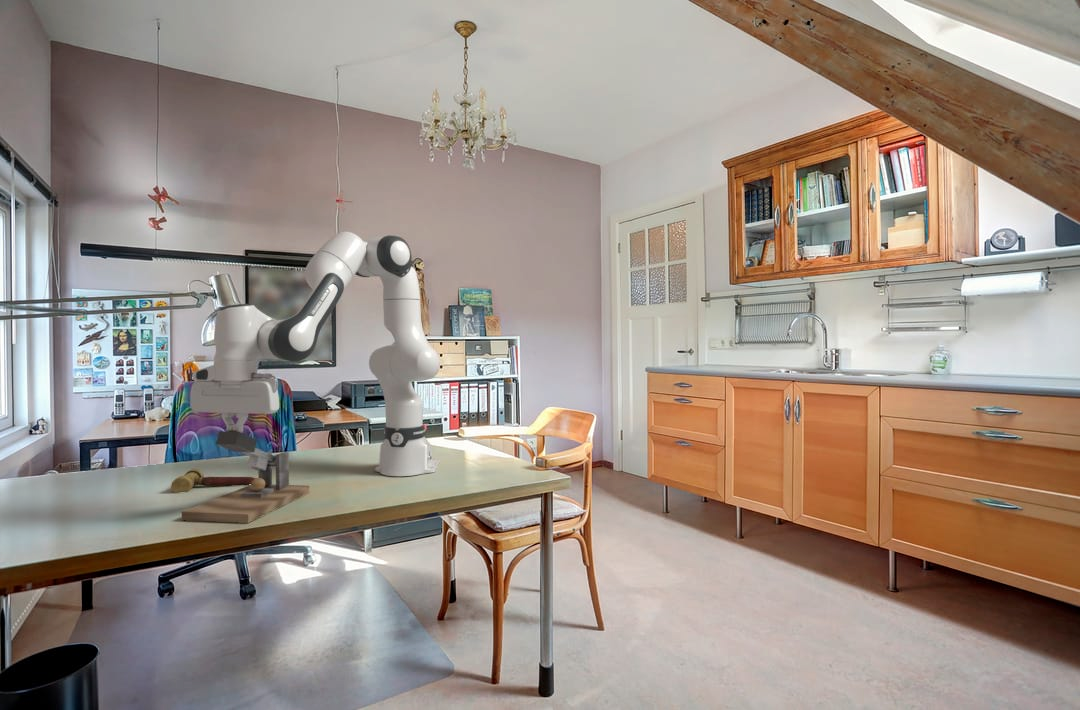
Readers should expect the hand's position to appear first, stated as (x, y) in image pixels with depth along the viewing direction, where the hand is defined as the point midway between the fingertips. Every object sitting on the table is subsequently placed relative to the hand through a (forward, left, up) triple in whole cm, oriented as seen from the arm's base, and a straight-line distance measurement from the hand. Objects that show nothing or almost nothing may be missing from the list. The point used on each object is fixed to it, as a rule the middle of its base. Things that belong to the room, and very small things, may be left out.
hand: (234, 432), depth 123 cm
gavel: (-21, -20, -19) cm, 35 cm away
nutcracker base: (-5, 0, -19) cm, 19 cm away
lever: (-5, 0, -9) cm, 10 cm away
